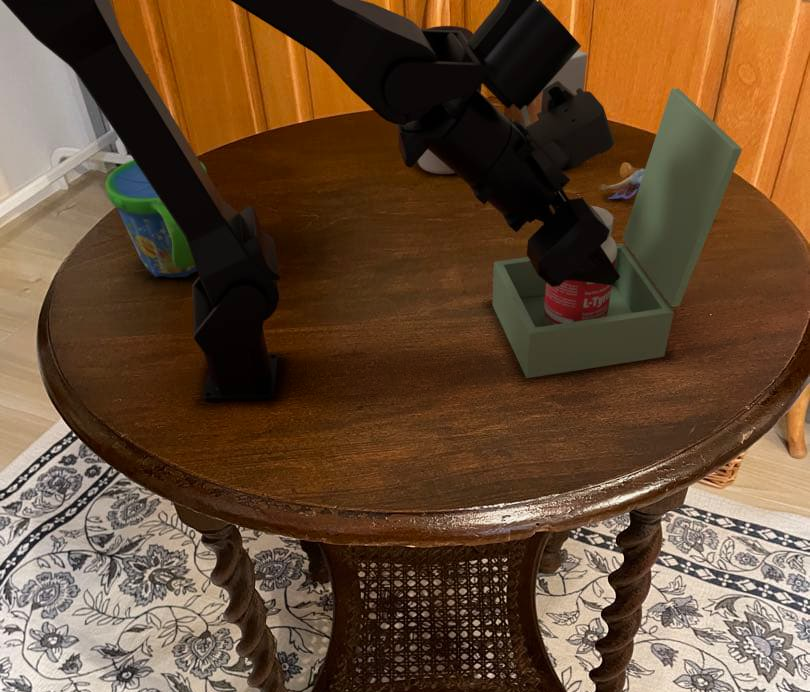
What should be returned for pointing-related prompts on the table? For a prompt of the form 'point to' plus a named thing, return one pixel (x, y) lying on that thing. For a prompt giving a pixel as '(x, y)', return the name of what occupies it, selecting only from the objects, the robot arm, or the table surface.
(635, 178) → the fairy figurine
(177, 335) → the table surface
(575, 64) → the small box
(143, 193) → the snack cup
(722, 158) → the chest lid
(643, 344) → the chest
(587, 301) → the pill bottle
